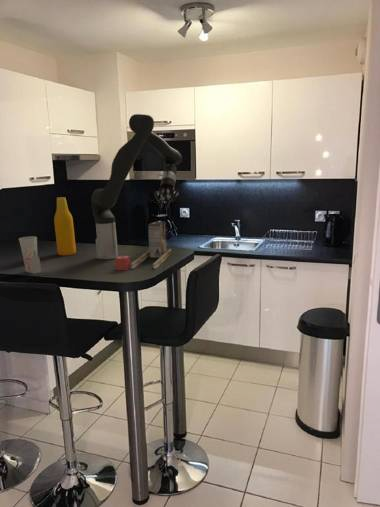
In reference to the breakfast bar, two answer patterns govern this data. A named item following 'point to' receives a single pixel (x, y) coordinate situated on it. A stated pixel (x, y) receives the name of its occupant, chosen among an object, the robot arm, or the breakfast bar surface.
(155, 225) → the coffee box
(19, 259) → the breakfast bar surface
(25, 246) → the cup
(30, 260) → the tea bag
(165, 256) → the game track
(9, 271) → the breakfast bar surface
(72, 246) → the beer bottle
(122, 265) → the red die
